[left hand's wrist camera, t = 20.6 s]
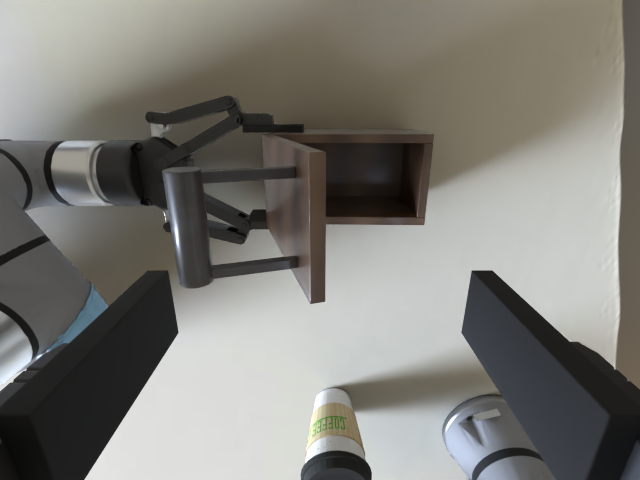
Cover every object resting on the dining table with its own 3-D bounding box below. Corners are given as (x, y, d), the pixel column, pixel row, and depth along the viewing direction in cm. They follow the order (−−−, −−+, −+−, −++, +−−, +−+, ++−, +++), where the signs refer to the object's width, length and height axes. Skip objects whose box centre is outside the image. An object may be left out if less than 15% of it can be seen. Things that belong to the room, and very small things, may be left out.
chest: (410, 129, 45) (434, 134, 34) (404, 201, 48) (424, 225, 38) (281, 128, 45) (267, 133, 35) (284, 200, 48) (272, 223, 38)
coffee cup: (312, 374, 58) (310, 457, 44) (368, 386, 59) (383, 471, 45) (298, 417, 62) (292, 507, 48) (351, 428, 62) (361, 520, 48)
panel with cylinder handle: (326, 152, 19) (151, 157, 17) (325, 301, 22) (178, 325, 20) (271, 134, 34) (176, 135, 32) (276, 225, 38) (189, 232, 35)
